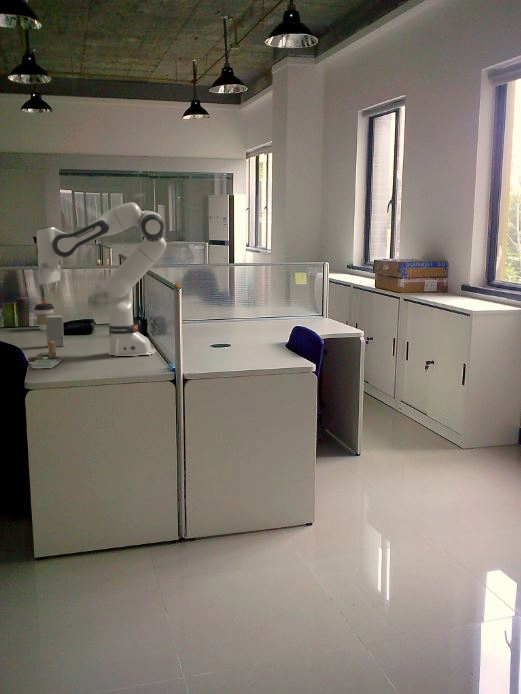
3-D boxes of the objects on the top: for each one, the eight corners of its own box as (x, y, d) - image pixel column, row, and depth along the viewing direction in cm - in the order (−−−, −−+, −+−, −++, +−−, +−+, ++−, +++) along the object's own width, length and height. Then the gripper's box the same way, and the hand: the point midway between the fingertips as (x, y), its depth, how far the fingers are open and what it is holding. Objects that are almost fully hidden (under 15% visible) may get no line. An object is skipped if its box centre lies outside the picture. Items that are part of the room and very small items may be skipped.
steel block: (53, 357, 324) (52, 352, 323) (49, 359, 319) (49, 354, 318) (40, 357, 324) (40, 352, 323) (37, 359, 319) (36, 354, 318)
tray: (57, 364, 306) (57, 359, 305) (51, 368, 298) (51, 363, 297) (37, 365, 306) (37, 359, 306) (31, 369, 298) (31, 363, 298)
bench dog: (43, 362, 311) (43, 356, 310) (41, 364, 308) (41, 357, 307) (30, 362, 311) (30, 356, 311) (28, 364, 308) (28, 357, 308)
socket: (61, 361, 313) (61, 357, 313) (57, 364, 307) (57, 359, 307) (48, 361, 313) (48, 357, 313) (44, 364, 307) (44, 360, 307)
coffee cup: (36, 328, 405) (33, 303, 402) (55, 327, 408) (53, 302, 405) (35, 331, 395) (33, 306, 392) (56, 330, 398) (54, 305, 395)
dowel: (57, 362, 312) (55, 340, 310) (55, 363, 309) (53, 342, 307) (51, 362, 312) (49, 340, 310) (48, 363, 309) (47, 342, 307)
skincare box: (47, 348, 345) (44, 317, 342) (48, 345, 352) (45, 315, 349) (64, 346, 348) (62, 316, 344) (64, 344, 354) (62, 314, 351)
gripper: (47, 264, 299) (49, 295, 301) (62, 260, 319) (64, 290, 322) (33, 264, 299) (35, 295, 302) (49, 261, 319) (51, 290, 322)
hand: (50, 292), depth 312 cm, fingers open, 8 cm apart
